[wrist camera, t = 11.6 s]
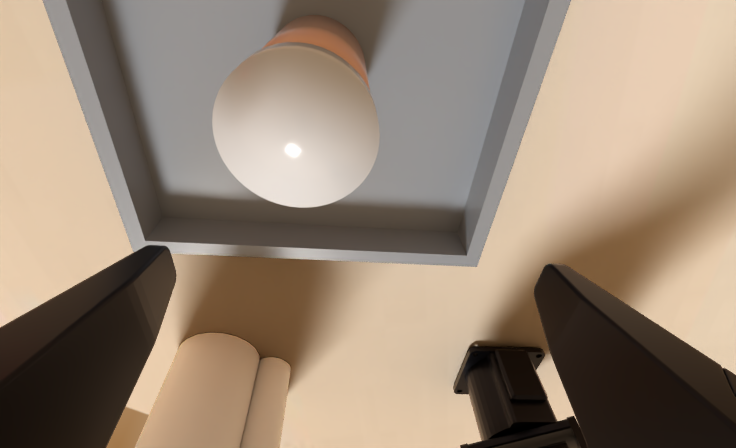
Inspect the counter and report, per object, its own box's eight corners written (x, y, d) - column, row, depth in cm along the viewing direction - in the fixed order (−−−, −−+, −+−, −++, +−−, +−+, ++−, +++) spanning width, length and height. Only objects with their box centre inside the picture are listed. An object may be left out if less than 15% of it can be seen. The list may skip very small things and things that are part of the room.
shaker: (363, 122, 18) (371, 211, 12) (269, 115, 18) (224, 203, 11) (372, 17, 16) (389, 58, 9) (262, 6, 15) (198, 40, 9)
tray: (463, 235, 24) (476, 266, 21) (157, 219, 22) (133, 251, 20) (596, -198, 13) (654, -235, 10) (7, -291, 11) (-89, -361, 9)
